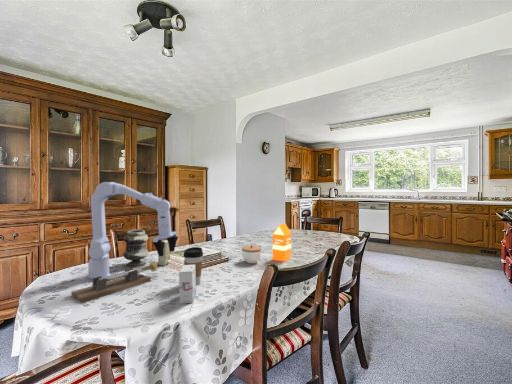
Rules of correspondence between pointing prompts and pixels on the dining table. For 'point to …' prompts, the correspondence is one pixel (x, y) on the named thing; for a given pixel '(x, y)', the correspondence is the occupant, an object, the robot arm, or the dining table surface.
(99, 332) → the dining table surface
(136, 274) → the shaft frame
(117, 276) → the shaft
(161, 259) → the skincare box
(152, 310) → the dining table surface
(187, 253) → the coffee cup
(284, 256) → the orange juice
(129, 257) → the apothecary jar
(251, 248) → the lidded jar
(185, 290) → the ink box
